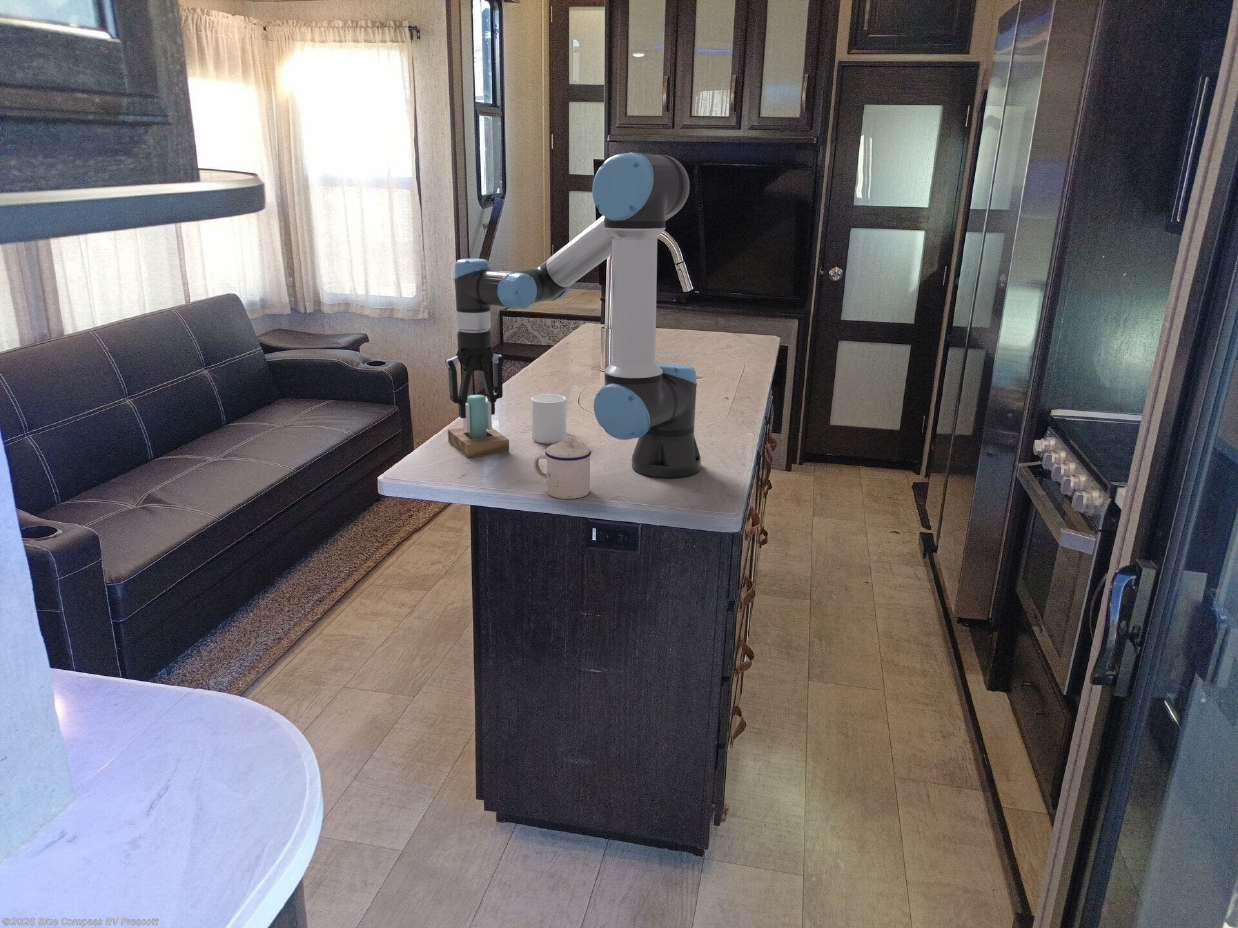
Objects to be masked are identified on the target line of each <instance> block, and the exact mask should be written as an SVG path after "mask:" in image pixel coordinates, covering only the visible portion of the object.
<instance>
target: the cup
mask: <svg viewBox="0 0 1238 928" xmlns="http://www.w3.org/2000/svg"><path fill="white" fill-rule="evenodd" d="M530 400H531V403H530V405H531V406H530V407H531V408H530V410H531V416H530V417H531V437H532V440H533V441H534V442H536V443H539V444H544V445H545V444H550V445H553V444H557V443H558V442H560V441H563V438H564V437H565V436H567V398H566V396H564V395H561V394H553V393H552V394H549V393H547V394H537V395H534V396H532V397H531V399H530Z"/></svg>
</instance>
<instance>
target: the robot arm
mask: <svg viewBox="0 0 1238 928" xmlns="http://www.w3.org/2000/svg"><path fill="white" fill-rule="evenodd" d="M591 190H592V192H591V193H592V199H593V203H594V206H595V207H596V208H597V209H598V212H599V214H601V216H600V217H599V218H598V219H596V220H595V222H593V223H592V224H590V225H589V226H588V227H587V228H586V229H584V230H583V231H581V232H580V233H579V234H578V235H577V236H575V237H574V238H573V239H572V240H571V241H569V242H568V243H567V244H566V245H564V246H563V247H561V248H560V249H559V250H558V251H556V252H555V253H554V254H553V255H551V256H550V257H549V258H548V259H547V260H545V261H544V262H543V263H542V264H540V265H539V266H537V267H533V268H526V269H518V270H517V269H516V270H510V271H508V270H507V271H503V270H492V269H491V268H490V264H489V263H490V262H489V260H487V259H484V258H462V259H458V260H456V261H455V263H454V278H453V281H454V289H455V309H456V310H455V313H456V328H457V329H458V330H457V333H456V334H457V335H456V337H457V340H456V342H457V352H456V353H455V356H453V357H452V358H446V359H445V365H446V368H447V370H448V371H447V372H448V387H449V388H448V389H449V400H450V401H451V402H452V403H454V404H457V405H458V416H459V418H461V419H462V424H463V426H462V428H463V429H464V431H466V432H467V433H469V432H470V409H469V404H468V402H467V401H468V396H469V395H468V394H469V388H470V383H471V378H472V376H473V373H474V372H475V371H476V372H477V371H479V373H480V377H481V380H482V381H481V382H482V384H483V388H484V391H485V395H486V396H485V397H486V399H485V405H486V428H487V429H488V430H492V428H493V427H492V426H493V422H492V420H493V419H492V415H495V413H496V402H497V400H498V399H502V398H503V394H504V393H503V392H504V391H503V389H504V388H503V365H504V362H505V357H504V356H503V355H502V354H499V353H498V354H496V353H494V351H493V350H492V349H493V348H492V331H491V330H490V329H491V327H492V323H491V322H492V321H491V320H492V319H491V306H494V307H500V308H501V307H502V308H509V309H511V310H516V309H518V310H519V309H521V310H523V309H528V308H530V306H532V304H536V303H542V302H552V301H556V300H559V299H561V298H563V297H565V296H566V295H567V294H568V292H569V291H570V288H571V286H572V285H573V284H574V283H576V282H577V281H578V280H580V279H581V278H582V277H584V276H585V275H586V274H588V273H589V272H590V271H592V270H593V269H594V268H596V267H598V266H599V265H601V263H602V262H604V261H605V260H607V259H608V258H609V257H611V264H612V265H611V267H612V269H611V271H612V272H611V276H612V277H611V286H612V287H611V295H612V297H611V300H612V301H611V302H612V303H611V304H612V305H611V308H612V309H611V310H612V312H611V321H612V322H611V323H612V324H611V325H612V326H611V328H612V331H611V333H612V334H611V335H612V336H611V339H612V340H611V349H612V351H611V353H612V355H611V359H612V360H611V363H610V364H609V365H608V366H607V367H606V368H605V369H604V386H601V388H600V389H599V391H598V392H597V393H596V395H595V397H594V400H593V412H594V416H595V418H596V421H597V423H598V424H599V426H600V427H601V428H602V429H603V430H604V432H605V433H606V434H607V435H609V436H610V437H612V438H614V439H618V440H621V441H622V440H623V441H629V440H632V439H637V442H636V445H635V447H634V450H633V454H632V455H631V468H632V469H633V470H634V471H635V472H637V473H639V474H642V475H643V476H644V475H645V476H649V477H653V478H654V477H655V478H664V479H667V478H668V479H671V478H672V479H673V478H674V479H675V478H683V477H689V476H693V475H695V474H697V473H699V472H700V471H701V466H702V459H701V454H700V451H699V447H698V443H697V439H696V436H695V419H696V405H697V404H696V402H697V401H696V399H697V386H698V383H697V371H696V369H695V368H694V367H692V366H690V365H685V364H680V363H672V362H663V361H662V362H661V361H660V362H659V361H656V350H657V349H656V347H657V346H656V345H657V344H656V343H657V341H656V340H657V336H656V335H657V283H658V282H657V280H658V279H657V276H658V275H657V274H658V272H657V271H658V238H659V236H660V235H661V234H663V232H664V231H665V230H666V221H668V220H669V219H671V218H672V217H673V216H674V215H676V214H677V213H678V212H679V211H680V210H681V209H683V206H684V205H685V203H686V202H687V199H688V197H689V194H690V179H689V175H688V172H687V171H686V169H685V167H684V166H683V164H682V163H681V162H680V161H678V159H676V158H674V157H672V156H669V155H666V154H657V153H656V154H652V153H651V154H650V153H639V152H627V153H618V154H615V155H613V156H610V157H609V158H607V159H606V160H605V161H604V162H603V163H602V165H601V166H600V167H599V168H598V170H597V171H596V173H595V175H594V178H593V183H592V189H591ZM491 361H492V363H493V384H492V381H491V377H490V370H489V364H490V362H491ZM458 363H459V364H460V365H461V366H462V371H461V379H460V384H459V386H458V372H457V371H458V370H457V367H458ZM458 387H459V388H458Z"/></svg>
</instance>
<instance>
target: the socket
mask: <svg viewBox="0 0 1238 928" xmlns="http://www.w3.org/2000/svg"><path fill="white" fill-rule="evenodd" d="M486 435H487V437H482V438H474V439H470V438H469V433H467V432H466V431H464V429H463V427H457V428H449V429H447V440H448V441H447V442H448V443H450V445H452V447H454V448H455V449H456V450H457V451H459V452H460V453H461V454H462V455H463V456H464V457H466V458H467V459H469V458H476V457H483V456H490V455H499V454H506V453H510V440H509V438H507V437H506V436H504V435H503V434H502V433H500V432H499V431H498V430H496V429H495V428H494V427H492V430H488V429H487V428H486Z"/></svg>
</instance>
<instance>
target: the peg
mask: <svg viewBox="0 0 1238 928" xmlns="http://www.w3.org/2000/svg"><path fill="white" fill-rule="evenodd" d="M485 400H486V396H485V395H482V394H473V395H467V404H469V409H470V432H469V438H470V439H474V438H482V437H487V435H486V405H485Z"/></svg>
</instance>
